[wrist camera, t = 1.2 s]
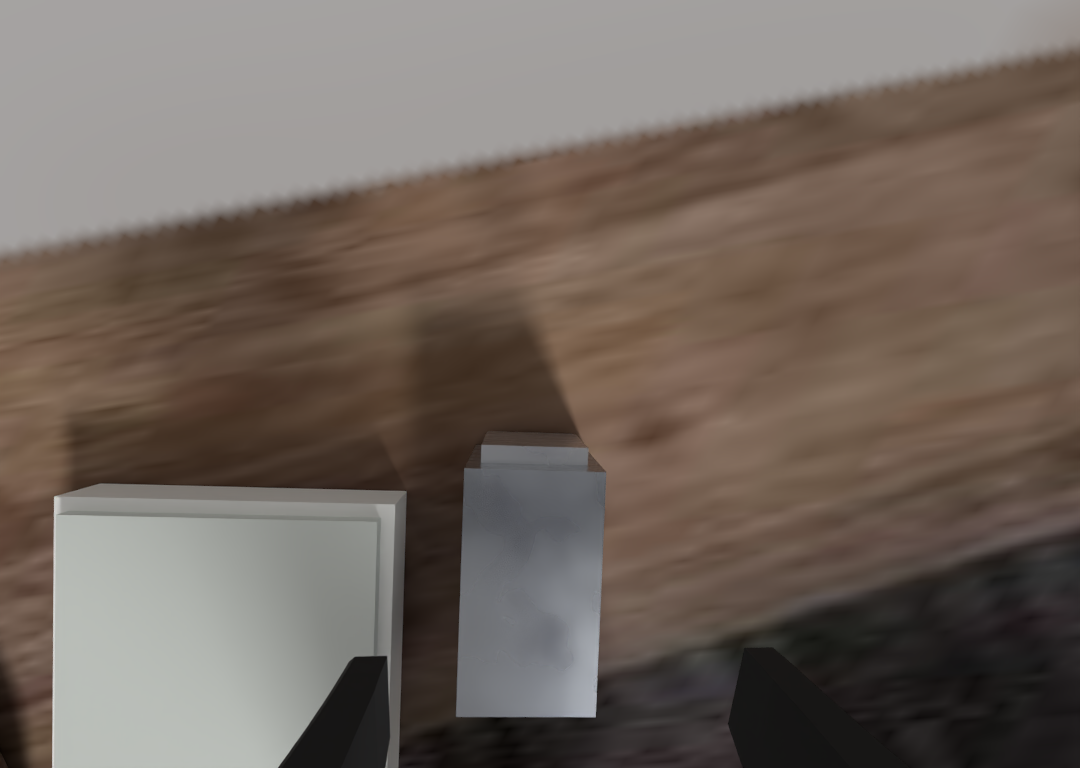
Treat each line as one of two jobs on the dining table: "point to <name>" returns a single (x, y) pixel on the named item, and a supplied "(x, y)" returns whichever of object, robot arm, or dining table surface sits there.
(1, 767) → the plant saucer
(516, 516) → the block
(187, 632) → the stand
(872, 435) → the dining table surface
